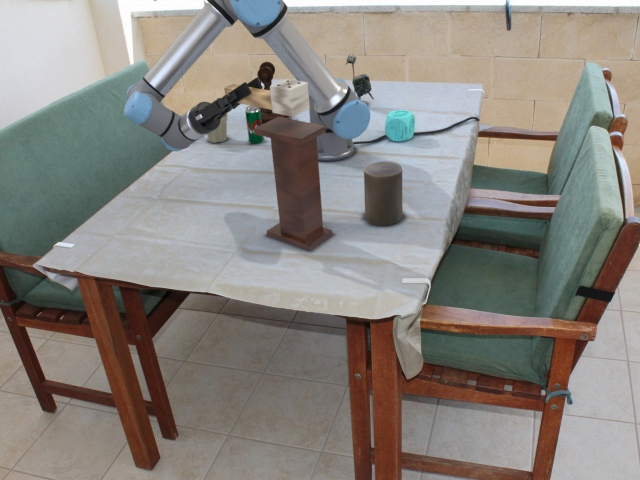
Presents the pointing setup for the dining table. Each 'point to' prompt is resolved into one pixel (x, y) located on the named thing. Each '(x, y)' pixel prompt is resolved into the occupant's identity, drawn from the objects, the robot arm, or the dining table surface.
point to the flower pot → (219, 131)
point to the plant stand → (296, 181)
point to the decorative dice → (400, 125)
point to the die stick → (278, 97)
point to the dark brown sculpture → (266, 78)
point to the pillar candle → (383, 193)
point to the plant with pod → (359, 80)
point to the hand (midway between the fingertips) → (253, 85)
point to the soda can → (253, 123)
